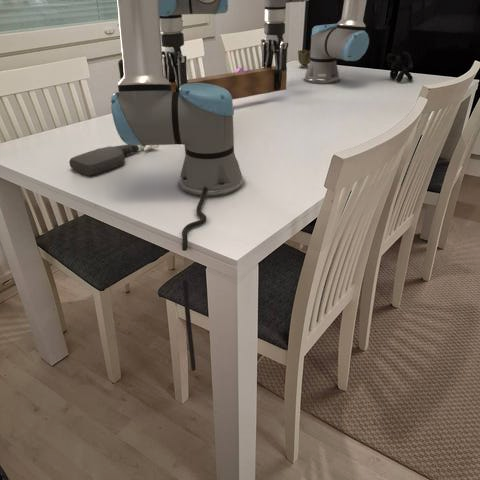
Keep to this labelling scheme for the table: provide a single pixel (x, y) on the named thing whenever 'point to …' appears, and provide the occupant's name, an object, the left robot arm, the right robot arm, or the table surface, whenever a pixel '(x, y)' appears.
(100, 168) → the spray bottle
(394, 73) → the squiggle
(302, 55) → the cup
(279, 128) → the table surface
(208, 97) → the left robot arm
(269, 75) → the bar
